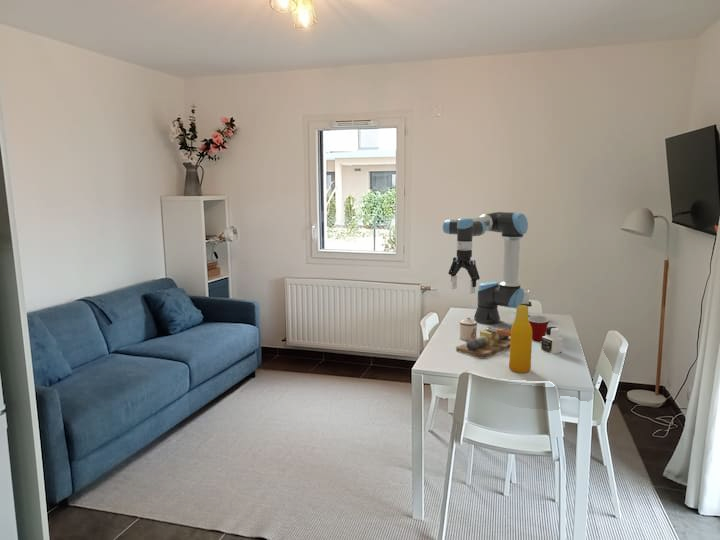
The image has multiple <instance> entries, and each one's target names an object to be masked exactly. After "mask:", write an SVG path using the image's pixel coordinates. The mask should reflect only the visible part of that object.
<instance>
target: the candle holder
mask: <svg viewBox="0 0 720 540" xmlns="http://www.w3.org/2000/svg"><path fill="white" fill-rule="evenodd" d="M521 305H526V306H528V307H532V306H533V305H532V301H530V289H528V290H527V291H525V290H524V299H523V301H522V303H521ZM516 314H517V308H514V318H516Z"/></svg>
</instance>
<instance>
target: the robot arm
mask: <svg viewBox="0 0 720 540" xmlns="http://www.w3.org/2000/svg"><path fill="white" fill-rule="evenodd" d="M528 224H529V223H528V219H527V217H526V215H525V214H523V213H521V212H510V211H509V212H504V211H503V212H502V211H496V212H491V213H485V214H482V215H480V216H475V217H474V216H473V217H468V218H467V217H464V218H463V217H461V218H458V219H446V220H444V222H443V224H442V230H443V232H444V234H446V235H448V234H449V235H456V236H457V237H456V239H457V240H456V249H457V250H456V257H453V258H452V263H451V266H450V268H449V271H448V272H447V273H448V275H450V277H451V280H450V282H451V289H452V290H457V287H458V285H457V282H458V276H457V274H458V273H459V271H460V270H461V269H462V268H463V269H465V270H466V271H467V274H468V275H469V277H470V279H471V280H470V281H469V283H470V285H469V293H470V294H476V287H478V288H477V307H476V308H477V309H476V310H475V313H474V316H473V320H474V321H476V322H477V323H480V324H485V325H486V324H487V325H493V324H494V325H495V324H499V323H501V316H500V313H499V309H498V307H505V308H509V309H511V308H512V309H515V308H518V305H521V303H522V301H523V299H524V291H525V290H524V289H523V288H521V283H520V282H519V269H520V268H519V267H520V266H519V265H520V248H521V247H520V246H521V239H522V238H524V235H525V234H526V233H528V228H529V225H528ZM486 232H492V233H494V232H495V233H501V238H503V258H502V259H503V260H502V281H501V282H497V281H486V282H481V283H479V284H478V286H477V281H478V280H480V279H481V278H480V275H479V271H478V267H477V265H476V263H477V262H476V260H475V259H473V260H472V259H471V258H472V256H473V250H472V249H473V237H480V236H482V235H484V234H485V233H486Z"/></svg>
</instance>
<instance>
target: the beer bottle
mask: <svg viewBox="0 0 720 540" xmlns="http://www.w3.org/2000/svg"><path fill="white" fill-rule="evenodd" d="M510 331H511V336H510V337H509V338H510V348H509V361H508V369H509V370H510V371H511V372H514V373H516V374H517V373H518V374H526V373H530V371H531V368H532V350H533V349H532V347H533V345H532V344H533V340H532V327H531V325H530V322H529V306H526V305H518V308H517V314H516V317H515V320H514V321H513V323H512V325H511V328H510Z"/></svg>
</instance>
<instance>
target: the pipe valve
mask: <svg viewBox="0 0 720 540" xmlns="http://www.w3.org/2000/svg"><path fill="white" fill-rule="evenodd" d="M486 329H487V328H485V329H483V330H479V337H478V338H476V339H475V340H469V341H467V342H466V343H464V344H460V345H457V346H456V350H455V351H456V352H459V351H460V353H464V354H466V353H467V355H469V356H473V357H474V356H475V357H478V358H481V359H485V358H488V357H491V356H494V355H496V354H498V353H501V352H504V351H506V350H508V349H509V350H510V337H509V336H505V335H501V334H497V332H493V331H488V330H486ZM504 329H505V330H508V329H507V328H504Z"/></svg>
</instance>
